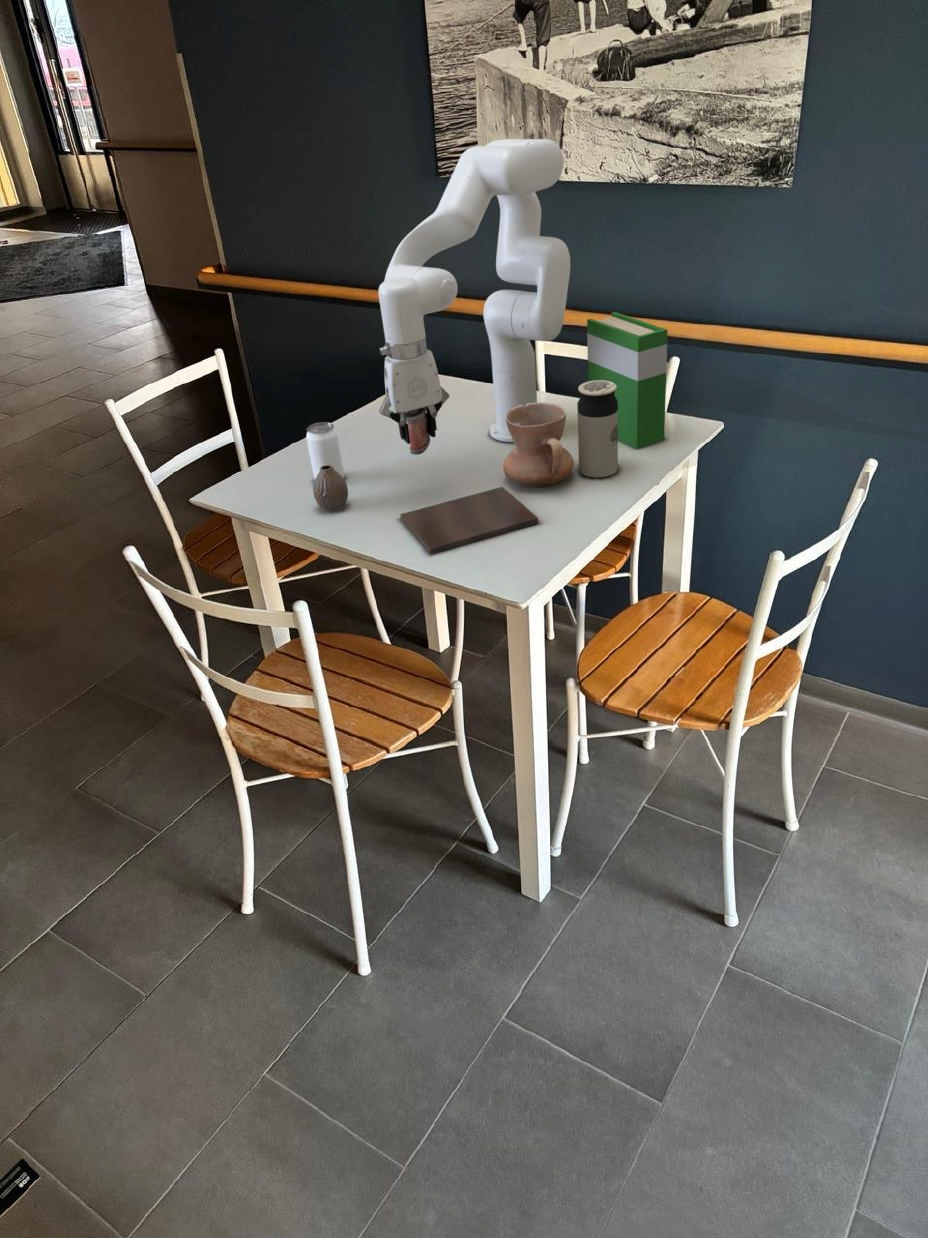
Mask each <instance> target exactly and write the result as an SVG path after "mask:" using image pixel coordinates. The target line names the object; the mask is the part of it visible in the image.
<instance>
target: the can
mask: <svg viewBox="0 0 928 1238" xmlns="http://www.w3.org/2000/svg"><path fill="white" fill-rule="evenodd" d="M306 431H307V432H306V435H305V436H306V444H307V449H308V453H309V459H310V464H311V470H312V475H313V479H314V481H315V479H316V477H317V475H318V473H319V471H320V468H321V467H322V466H324V465H331V466H332V467H333V468H334V469H335V470H336V471H337V472H338V473H339V474H340V475H341V476H342V477H343V478H344V479H345V472H344V467H343V466H344V465H343V459H342V453H341V448H340V443H339V436H338V431H337V430H336V428H335V426H334V423H331V422H328V421H322V422H316V423H313V424H310V425H308V427H307V428H306Z"/></svg>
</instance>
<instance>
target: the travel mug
mask: <svg viewBox="0 0 928 1238" xmlns="http://www.w3.org/2000/svg"><path fill="white" fill-rule="evenodd" d="M616 388H617V386H616V384H614V383H613V382H610V381H604V380H595V381H589V382H588V381H585V382H582V383H581V384H580V385H579V386H578V389H577V390H578V392H579V395H580V396H579V399H578V401H577V403H576V405H577V406H576V407H577V444H578V445H577V446H578V447H577V448H578V450H577V452H578V472H579V473H580V474H581V475H583V476H585V477H588V478H595V479H599V478H606V477H610V476H612V475H614V474H615V473H617V471H618V469H619V453H618V452H619V450H618V449H619V440H618V401H617V399H616V397H615V395H614V394H615V390H616Z"/></svg>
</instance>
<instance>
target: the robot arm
mask: <svg viewBox="0 0 928 1238" xmlns="http://www.w3.org/2000/svg"><path fill="white" fill-rule="evenodd" d="M564 163H565V162H564V154H563V152H562V149H561V147H560V146H559V144H558V143H557V142H556V141H555V140H552V139H550V138H549V139H548V138H503V139H500V138H499V139H495V140H492V141H490V142H488V143H487V144H485V145H476V146H472V147H470V148H467V149H466V150H464V152H463V153H462V154H461V155H460V157H459V159H458V161H457V164H456V165H455V168H454V170H453V172H452V174H451V177H450V179H449V181H448V183H447V185H446V187H445V190H444V192H443V193H442V197H441V199H440V200H439V203H438V206H437V207H436V209H435V210H434V212H433V213H432V214H431V215H429V216H428V217H427V218H425V219H423V221H421V222H420V223H419V224H418V225H417V226H416V227H414V228H413V229H412V230H411V231H410V232H409V233H408V234H406V236H405V237H404V238H403V239H402V240H401V241H400V243H399V244H398V246H397V248H396V249H395V252H394V253H393V256H392V257H391V260H390V262H389V264H388V267H387V269H386V273H385V277H384V281H382V282H381V283H380V284H379V287H378V289H377V290H378V291H377V294H378V300H379V301H378V302H379V306H380V314H381V319H382V325H383V334H384V340H385V341H384V346H382V347H379V349H378V351H379V355H380V356H385V358H384V371H383V373H384V374H383V375H384V389H385V397H384V399H383V401H382V403H381V405H380V407H379V410H378V413H379V414H380V415H382V416H384V417H385V418H389V419H391V420H393V421H394V422H395V423H397V424H398V429H399V436H400V439H401V440H403V441H404V442H405V443H406V444H407V445H410V437H409V429H408V422H407V421H406V416H407V412H408V411H412V410H416V409H420V408H423V407H426V417H427V423H428V424H427V429H428V434H429V435H430V438H436V437H437V436H436V435H437V434H436V431H438V427H437V419H436V418H437V417H438V414H439V413H438V412H439V411H440V409H441V408H442V407H443V404H445V403H446V401H448V400H449V398H450V394H449V393H448V392H447V391H446V390H445V389H444V388H443V387H442V386H441V381H440V376H439V371H438V368H437V367H438V366H437V364H436V360H435V357H434V354H433V352H432V351H431V350H430V349H428V346H427V337H426V329H425V322H424V316H425V315H428V314H433V313H437V312H441V311H443V310H446V309H447V308H449V307H450V306H451V305H452V304H453V303H454V301H455V300H456V298H457V295H458V283H457V279H456V277H455V276H454V275H453V274H452V273H451V272H450V271H448V270H446V269H443V268H439V267H430V266H429V267H428V266H424V264H425V263H426V262H427V261H428V260H430V259H431V258H432V257H433V256H435V255H437V254H439V253H440V252H442V251H444V250H447V249H450V248H452V247H455V246H457V245H459V244H462V243H464V242H466V241H468V240H470V239H471V238H473V237H474V236H475V235H476V233H477V231H478V229H479V227H480V224H481V221H482V220H483V217H484V216H485V213H486V211H487V209H488V206H489V204H490V202H491V200H492V198H493V197H495V196H496V197H497V200H498V204H499V226H498V227H499V228H498V236H497V244H496V245H497V247H496V257H495V270H496V274H497V276H498V278H499V279H500V280H502V281H504V282H506V283H511V284H518V285H528V286H536V290H537V291H536V292H535V291H526V290H516V289H500V290H497V291H494V292H492V293H491V294H490V295H489V296H487V298H486V299H485V302H484V306H483V311H482V314H483V315H482V317H483V322H484V326H485V330H486V334H487V337H488V341H489V347H490V358H491V370H492V372H491V373H492V384H493V398H494V413H495V414H494V415H495V422H494V423H493V424H492V425H491V426H490V428H489V434H490V437H492V438H493V439H494V440H496V441H499V442H505V443H514V441H513V439H512V437H511V435H510V432H509V430H508V427H507V424H506V419H505V416H506V413H507V412H508V411H509V410H510V409H512V408H514V407H516V406H519V405H524V406H526V405H527V404H528V403H536V402H538V391H537V390H538V389H537V371H536V370H537V369H536V355H535V350H534V348H533V345H532V343H531V341H537V342H550V341H553V340H555V339H556V338H557V337H558V336H559V334H560V333H561V331H562V328H563V325H564V319H565V313H566V308H567V307H566V305H567V299H568V292H569V291H568V290H569V283H570V276H571V275H570V274H571V255H570V251H569V248H568V245H567V244H566V243H565V242H564V241H563V240H562V239H560V238H558V237H555V236H542V235H541V224H542V206H541V203H540V200H539V197H538V195H537V193H536V192H539V191H542V190H545V189H548V188H551V187H552V186H554V185H555V184H556V183H557V182H558V180H559V179H560V177H561V176H562V173H563V169H564ZM390 407H391V408H392V410H390ZM514 424H515V425H519V422H518V423H514Z"/></svg>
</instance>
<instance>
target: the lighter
mask: <svg viewBox="0 0 928 1238" xmlns="http://www.w3.org/2000/svg"><path fill="white" fill-rule="evenodd" d="M426 412H427V411H426V407H423V408H420V409H416V410H412V411H408V412H407V416H406V422H407V424H408V429H409V437H410V444H409V445H410V447H409V451H410V454H411V455H413V456H414V455H415V456H418V455H421V454H422V455H423V454H424V453H425V452H426V450H427V449H428V447H429V446H430V443H431V436H430V435H429V434H428V429H427V424H428V423H427V417H426Z"/></svg>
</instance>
